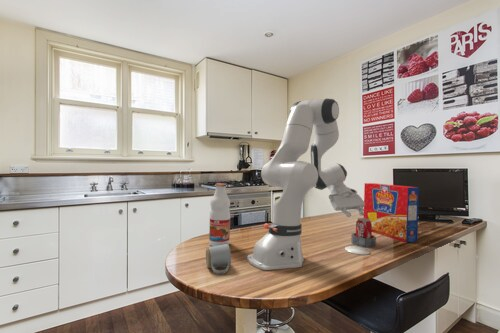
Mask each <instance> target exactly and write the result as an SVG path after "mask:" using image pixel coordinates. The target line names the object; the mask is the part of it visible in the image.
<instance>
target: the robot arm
mask: <svg viewBox="0 0 500 333" xmlns="http://www.w3.org/2000/svg"><path fill="white" fill-rule="evenodd" d="M339 114H340V108H339V104H338V102H337V101H336V100H335V99H334V98H324V99H323V98H321V99H319V98H316V99H315V98H314V99H313V98H312V99H308V100H307V99H306V100H302V101H301V100H300V101H295V102H294V103H293V104H292V105H291V107H290V109H289V114H288V117H287V120H286V124H285V127H284V131H283V136H282V139H281V142H280V145H279V147H278V148H277V151H275V154H274V155H273V156H272V158H270V159H269V161H268V162H267V163H265V164H263V166H262V169H261V172H260V174H261V179H262V181H263V182H264V184H267V185H268V186H271V187H273V188H281V189H282V193H281V196H280V197H279V198H278V199H276V200H274V201H273V205H272V222H271V224H269V223H267V222H266V223H264V225H263V228H264V229H266V230H268V232H267V233H266V234H264V235H263V236H262V238H260V239H259V240H258V241H256V242H255V244H254V246H253V250H252V251H253V253H250V254H248V255H247V256H246V257H247V258H246V259H247V261H248V263H249V264H250V265H252V266H254V267H255V268H257V269H260V270H264V271H271V270H280V269H281V270H283V269H294V268H300V267H302V266H303V262H304V261H305V259H304V255H303V250H302V242H301V241H302V238H301V235H302V228H303V227H302V223H301V221H302V220H301V219H302V206H303V202H304V200H305V197H306V195H307V194H308V192H309V191H311V189H313V188H315V189H316V190H320V191H322V190H324V189H328V190H329V191H330V194H329V195H328V199H329V201H330V205H331V206H332V208H333V210H334V211H336V212H338V211H339V212H340V211H341V212H342V214H344V215H345V216H346V217H347V218H351V217H352V213H351V212H349V211H352V210H357V211H359V212H358V214H359V216H363V217H364V206H365V203H364V199H363V198H362V197H361V196H360V194H358V191H357V190H356V189H353V188H350V187H348V186H347V185H346V184H345V183H344V182H345V181H346V179H347V176H348V172H347V170H346V168H345V167H344V166H343V165H342V164H340V163H335V164H332V165H329V166H327V167H325V168H322V157H323V156H324V155H325V153H327V152H328V151H329V150H330V149H331V148H333V147H334V146H335V145H336V143H337V142H338V140H339V138H340V137H339V136H340V134H339V127H338V126H339V125H338V122H337V119H338V118H339ZM313 131H314V140H313V143H312V144H311V145H310V142H311V138H312V134H313ZM309 147H310V162H307V161H303V160H298V159H299V158H300V157H301V156H303V155H304V154H306V152H308V149H309Z"/></svg>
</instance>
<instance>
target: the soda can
mask: <svg viewBox="0 0 500 333" xmlns="http://www.w3.org/2000/svg"><path fill="white" fill-rule="evenodd" d="M370 221H371V220H370V219H365V218H364V217H360V218H357V221H356V223H355V233H356V236H357V237H361V238H372V235H373V234H372V233H373V232H372V223H371V222H370Z"/></svg>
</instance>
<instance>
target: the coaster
mask: <svg viewBox="0 0 500 333" xmlns="http://www.w3.org/2000/svg"><path fill="white" fill-rule="evenodd" d="M344 250H345V251H346V252H347V253H351V254H352V255H353V254H354V255H359V256H368V255H370V254H371V250H370V249H369V248H368V249H367V247H361V246H357V245H355V246H354V245H349V246H345V247H344Z"/></svg>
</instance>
